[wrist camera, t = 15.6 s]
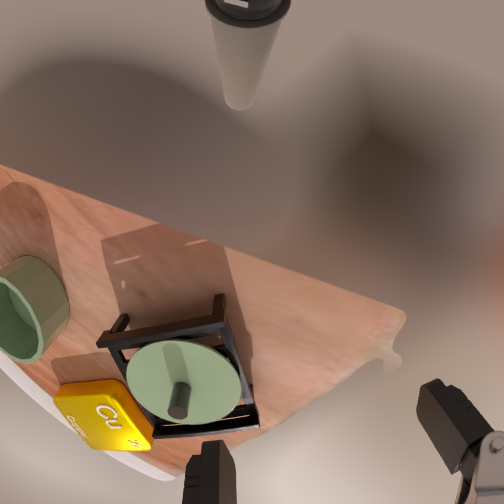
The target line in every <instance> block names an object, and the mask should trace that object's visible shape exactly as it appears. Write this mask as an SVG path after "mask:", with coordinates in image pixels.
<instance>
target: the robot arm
mask: <svg viewBox="0 0 504 504" xmlns="http://www.w3.org/2000/svg"><path fill="white" fill-rule="evenodd" d="M214 2H215V4H216V6H217V8H218V9H219V10H220V11H221V12H222V13H224V14H225V15H227V16H229V17H231V18H234V19H238V20H244V21H253V20H260V19H263V18H266V17H268V16H270V15H272V14H273V13H275V12H276V11H277V10H278V9H279V7H280V5H281V3H282V0H214ZM416 411H417V416H418V419H419V421H420V423H421V425H422V426H423V428H424V429H425V431H426V432H427V434H428V436H429V437H430V439H431V441H432V442H433V444H434V446H435V447H436V449H437V451H438V452H439V454H440V456H441V457H442V459H443V461H444V462H445V464H446V466H447V468H448V469H449V471H450V473H451V474H454V473H456V472H457V471H459V470H460V471H461V473H462V476H461V480H460V484H459V488H458V492H457V496H456V500H455V504H504V432H503V431H494V429H492V427H491V426H490V425H489V424H488V423H487V421H486V420H485V419H484V417H483V416H482V415H481V414H480V412H479V411H478V410H477V409H476V408H475V406H473V404H472V403H471V401H470V400H468V399H467V397H466V395H465V394H464V393H463V392H462V391H461V390H460V389H458V388H456V387H454V386H453V385H450V386H447V387H446V386H445V385H444V383H443V382H442V381H441V380H440V379H435V380H433V381H430V382H428V383H426V384H424V385H422V386H421V388H420V393H419V398H418V404H417V409H416ZM184 486H185V487H184V491H183V500H182V504H237V499H236V498H237V497H236V469H235V463H234V460H233V458H232V456H231V454H230V452H229V450H228V449H227V447H226V445H225V443H224V441H223V440H214V441H204V442H203V443H202V449H201V455H192V457H191V458H190V460H189V462H188V463H187V465H186V472H185V481H184Z"/></svg>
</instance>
